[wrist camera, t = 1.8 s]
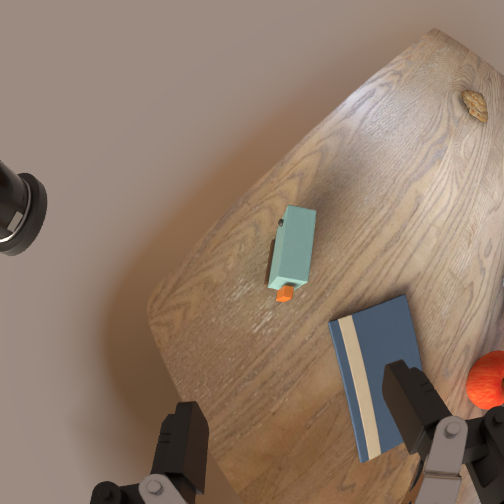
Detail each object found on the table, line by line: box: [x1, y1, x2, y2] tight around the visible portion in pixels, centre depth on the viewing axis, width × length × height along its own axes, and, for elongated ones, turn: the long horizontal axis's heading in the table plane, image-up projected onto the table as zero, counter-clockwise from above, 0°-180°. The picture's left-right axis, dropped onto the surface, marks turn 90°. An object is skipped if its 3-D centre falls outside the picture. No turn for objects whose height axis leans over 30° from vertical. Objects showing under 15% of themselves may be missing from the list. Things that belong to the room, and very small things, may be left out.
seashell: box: [461, 90, 488, 122], centre depth 39 cm, size 8×6×8 cm
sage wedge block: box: [265, 205, 316, 302], centre depth 26 cm, size 7×3×8 cm, turn 170°
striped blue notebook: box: [328, 294, 423, 463], centre depth 27 cm, size 18×10×1 cm, turn 15°
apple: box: [466, 351, 504, 409], centre depth 23 cm, size 8×8×8 cm
